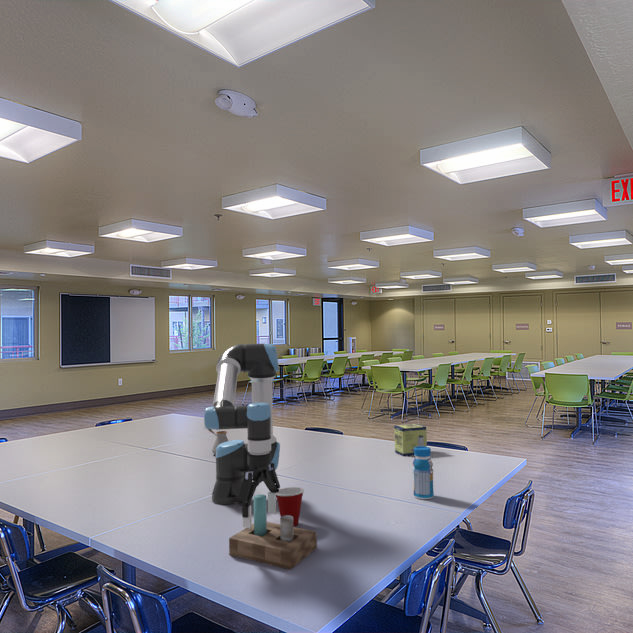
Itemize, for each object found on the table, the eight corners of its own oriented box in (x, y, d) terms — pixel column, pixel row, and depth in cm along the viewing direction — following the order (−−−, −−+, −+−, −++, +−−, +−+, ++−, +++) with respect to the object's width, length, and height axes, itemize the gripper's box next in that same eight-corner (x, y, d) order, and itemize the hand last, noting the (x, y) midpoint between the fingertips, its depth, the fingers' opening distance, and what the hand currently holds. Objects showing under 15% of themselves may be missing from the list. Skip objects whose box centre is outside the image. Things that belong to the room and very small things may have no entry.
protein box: (394, 452, 274) (393, 425, 275) (418, 450, 278) (417, 423, 279) (403, 456, 264) (402, 428, 265) (427, 454, 268) (426, 426, 269)
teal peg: (258, 541, 153) (258, 493, 153) (269, 543, 151) (268, 495, 151) (251, 545, 149) (251, 497, 150) (262, 548, 147) (261, 499, 148)
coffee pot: (235, 453, 277) (235, 427, 278) (220, 457, 268) (220, 430, 269) (212, 449, 291) (212, 424, 292) (197, 452, 282) (196, 427, 283)
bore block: (259, 535, 160) (259, 502, 160) (316, 547, 149) (316, 512, 150) (229, 554, 146) (229, 518, 146) (290, 569, 135) (289, 530, 136)
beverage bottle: (419, 501, 191) (417, 450, 192) (409, 494, 199) (408, 446, 200) (438, 498, 193) (436, 449, 194) (427, 492, 201) (426, 444, 202)
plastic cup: (292, 515, 177) (292, 483, 177) (310, 524, 169) (310, 490, 169) (268, 523, 170) (268, 489, 171) (286, 532, 162) (285, 496, 162)
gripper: (271, 443, 164) (272, 505, 163) (225, 459, 142) (225, 532, 141) (289, 445, 161) (290, 509, 159) (245, 462, 139) (245, 536, 137)
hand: (260, 519), depth 150 cm, fingers open, 13 cm apart
